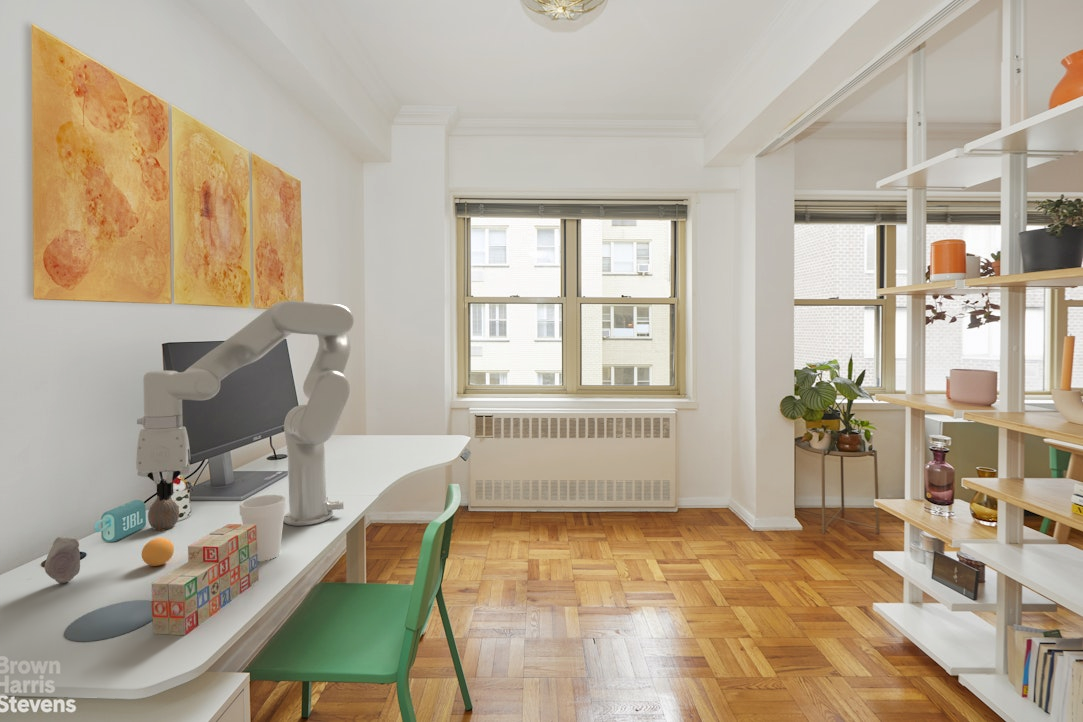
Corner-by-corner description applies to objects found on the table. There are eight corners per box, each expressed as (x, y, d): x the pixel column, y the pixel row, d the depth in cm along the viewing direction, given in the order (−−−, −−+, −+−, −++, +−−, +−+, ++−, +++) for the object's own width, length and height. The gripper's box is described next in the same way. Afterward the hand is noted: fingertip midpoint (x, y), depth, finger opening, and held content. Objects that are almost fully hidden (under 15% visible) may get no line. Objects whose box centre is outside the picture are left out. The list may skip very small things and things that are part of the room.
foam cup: (296, 550, 132) (294, 497, 132) (265, 566, 124) (262, 509, 123) (264, 545, 136) (262, 493, 135) (232, 561, 127) (230, 505, 126)
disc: (171, 595, 111) (171, 594, 110) (147, 632, 97) (147, 631, 97) (85, 608, 106) (85, 607, 106) (48, 648, 93) (48, 647, 93)
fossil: (48, 591, 113) (45, 543, 112) (41, 587, 115) (38, 540, 114) (83, 580, 118) (80, 534, 117) (76, 576, 119) (73, 531, 119)
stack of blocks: (186, 636, 96) (182, 567, 95) (152, 635, 97) (148, 566, 96) (259, 580, 117) (257, 523, 117) (231, 579, 118) (228, 522, 117)
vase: (164, 533, 145) (162, 500, 144) (142, 531, 146) (140, 498, 145) (186, 523, 151) (184, 492, 151) (164, 522, 153) (163, 491, 152)
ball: (177, 557, 129) (176, 532, 129) (170, 568, 123) (168, 541, 123) (147, 561, 127) (146, 535, 127) (138, 572, 121) (136, 545, 121)
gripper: (120, 426, 126) (122, 506, 127) (195, 423, 131) (197, 500, 132) (132, 421, 133) (133, 497, 134) (203, 419, 138) (204, 492, 139)
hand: (165, 498), depth 133 cm, fingers closed
